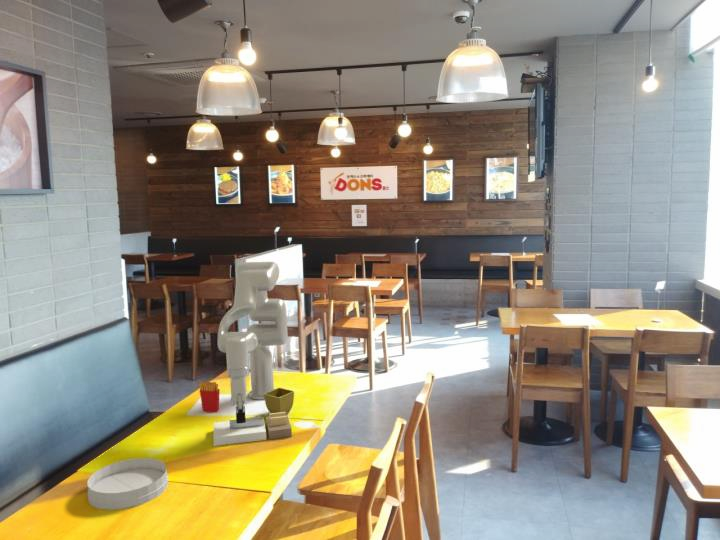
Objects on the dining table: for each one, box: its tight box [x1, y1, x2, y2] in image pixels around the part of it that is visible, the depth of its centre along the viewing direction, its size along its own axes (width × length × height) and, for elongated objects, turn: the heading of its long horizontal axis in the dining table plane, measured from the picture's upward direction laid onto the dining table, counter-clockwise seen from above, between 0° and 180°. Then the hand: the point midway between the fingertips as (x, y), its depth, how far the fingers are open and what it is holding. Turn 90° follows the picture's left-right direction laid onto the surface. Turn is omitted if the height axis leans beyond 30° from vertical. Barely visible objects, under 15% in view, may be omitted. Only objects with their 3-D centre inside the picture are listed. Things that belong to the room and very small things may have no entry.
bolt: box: [229, 405, 265, 429], centre depth 206 cm, size 3×12×7 cm, turn 103°
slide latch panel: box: [212, 412, 293, 447], centre depth 207 cm, size 14×27×6 cm, turn 103°
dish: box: [86, 457, 169, 511], centre depth 168 cm, size 22×22×5 cm
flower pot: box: [264, 387, 295, 415], centre depth 225 cm, size 9×9×9 cm
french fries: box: [198, 381, 220, 414], centre depth 231 cm, size 8×4×12 cm, turn 74°
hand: (240, 420), depth 206 cm, fingers closed on bolt, 3 cm apart
